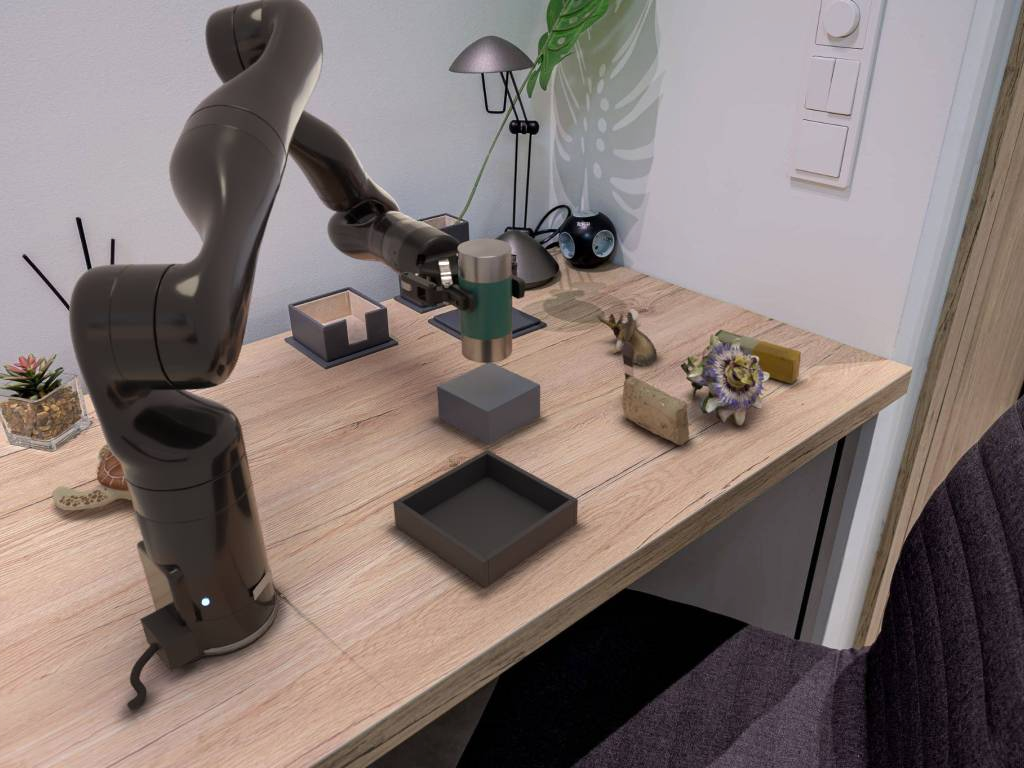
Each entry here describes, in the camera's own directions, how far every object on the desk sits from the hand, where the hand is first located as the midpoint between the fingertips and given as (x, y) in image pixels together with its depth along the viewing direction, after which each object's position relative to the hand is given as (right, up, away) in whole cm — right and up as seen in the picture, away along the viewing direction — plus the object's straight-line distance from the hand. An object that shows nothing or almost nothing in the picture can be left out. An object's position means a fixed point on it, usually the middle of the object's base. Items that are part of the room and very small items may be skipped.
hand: (497, 297), depth 92 cm
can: (-1, -6, +5) cm, 8 cm away
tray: (-1, -25, -8) cm, 26 cm away
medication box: (+35, -8, +22) cm, 42 cm away
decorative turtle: (-39, -21, 0) cm, 45 cm away
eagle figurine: (+19, -5, +27) cm, 33 cm away
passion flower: (+28, -13, +13) cm, 33 cm away
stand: (-1, -14, +11) cm, 18 cm away
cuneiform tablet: (+19, -15, +10) cm, 26 cm away
